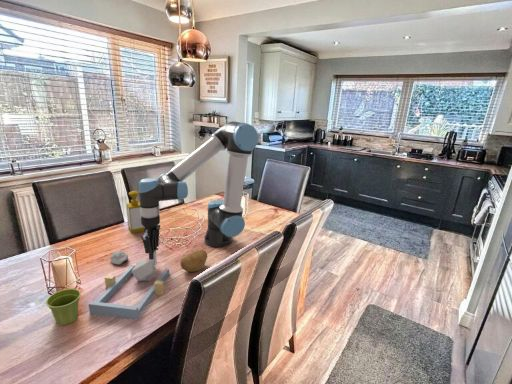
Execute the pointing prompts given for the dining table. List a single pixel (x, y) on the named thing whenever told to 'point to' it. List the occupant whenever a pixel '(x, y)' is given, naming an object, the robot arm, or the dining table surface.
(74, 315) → the plant pot
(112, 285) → the beam track
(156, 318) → the dining table surface
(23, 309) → the dining table surface
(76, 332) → the dining table surface
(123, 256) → the grey stone
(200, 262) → the potato
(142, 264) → the faceted grey rock
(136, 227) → the soap bottle
